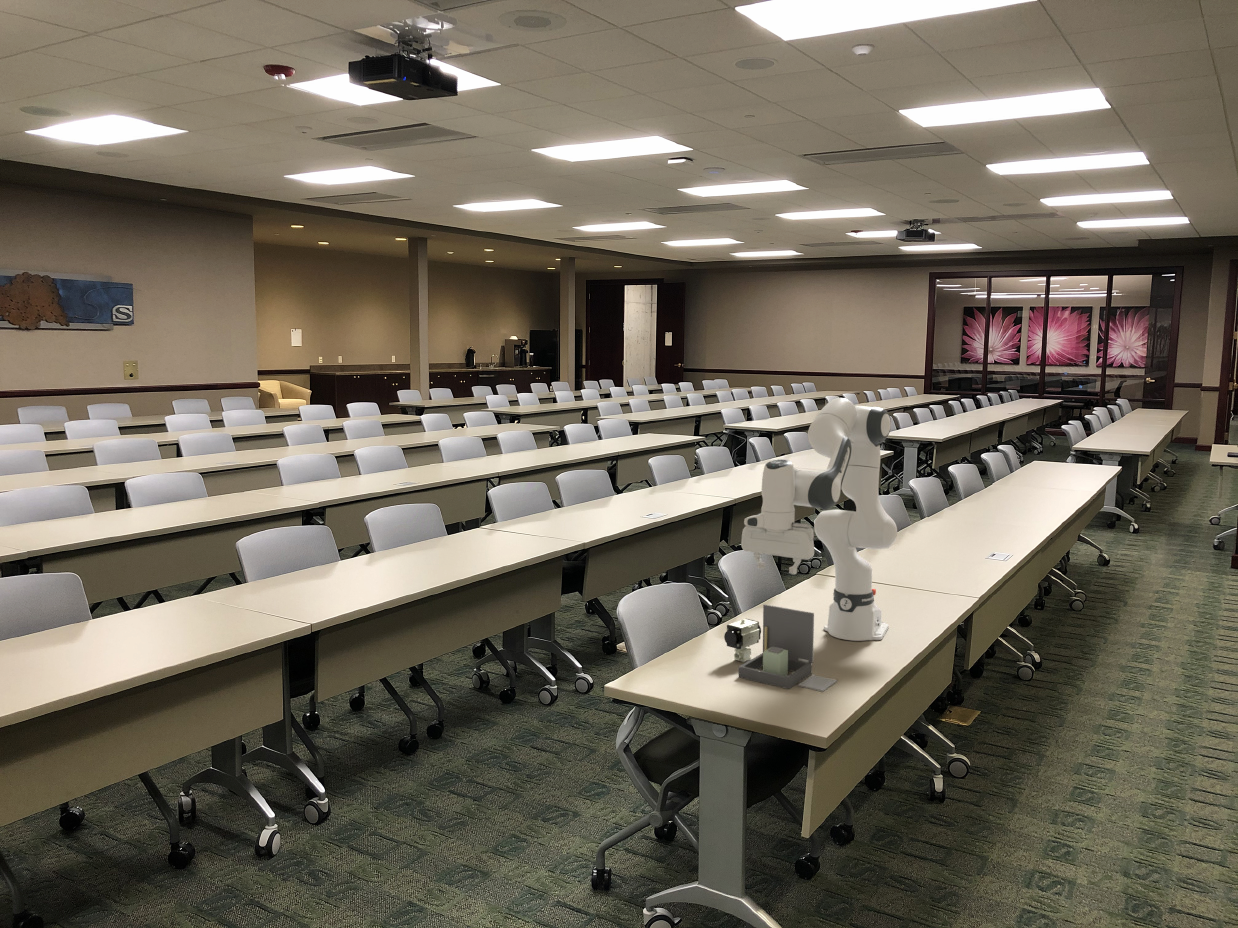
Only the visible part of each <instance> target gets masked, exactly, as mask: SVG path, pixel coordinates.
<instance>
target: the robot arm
mask: <svg viewBox="0 0 1238 928" xmlns="http://www.w3.org/2000/svg"><path fill="white" fill-rule="evenodd" d="M891 428H892V419H891V415H890V414H889V412H888V411H887V409H885V408H882V407H877V406H873V407H872V406H866V405H856V404H855V405H854V402H852V401H851V400H850V399H847V398H843V397H836V398H833V399H830V401H828V402H827V403H826V404H825V405H824V406H823V407H822V409H821V410H820V411H819V412H818V413H817V414H816V416H815V417H814V419H813V421H812V422H811V423H810V426H809V428H808V431H807V438H808V442H809V444H810V446H811V447H812V449H813V450H814V451H815V452H816V453H817V454H819V455H820V456H823V457H826V458H829V462H828V465H827V467H826V469H825V470H822V471H820V470H819V471H811V470H801V469H797V468H795V467H794V464H793V461H791V460H788V459H781V458H780V459H773V460H770V461H768V462H766V463H765V465H764V467H763V470H762V476H761V477H762V478H761V497H762V504H761V505H762V506H761V509H760V512H759V513H757V514H755V515H751V516H748V517H746V518H744V521H743V524H744V528H742V531H741V533H742V534H741V541H740V542H741V545H740V546H741V548H742V550H743V552H750V553H753V558H754V560H755V562H756V564H757V565H756V566H757V569H758V570H765V569H766V562H765V561H763V559H762V557H761V556H762V555H770V556H775V557H776V556H778V557H784V558H792V562H794V564H793V565H792V566H789V567H788V568H789V569H788V570H789V571H788V573H789V574H791V575H796V574H797V573H798V568H799V566H800V564H801V562H802V560H805V561H807V560H809V559H812V558H813V557H814V555H815V544H814V538H815V535H816V537H817V539H818V540H819V541H821V543H823V544H824V545H825V546H826V548H827V550H828V551H829V553H830V556H831V558H832V561H833V565H834V577H835V579H834V582H835V586H834V589H833V593H832V594H833V595H832V597H833V602H832V603H831V604H829V606H828V607H829V608H828V615H827V616H828V617H827V624H825V625H823V630H824V631H826V632H828V634H829V635H830V636H832V637H834V638H837V639H840V640H841V639H842V640H845V641H859V642H860V641H861V642H862V641H870V640H871V641H874V640H875V641H879V640H880V641H881V640H883V638H884V637H885V634H886V633H887V631H888V629H889V628H890V627H889V624H888V623H885V622H882V610H881V608H880V607H878V606H877V604H876V603H875V598H874V597H875V596H876V595H877V589H875V588H873V567H872V566H871V564H870V562H869V561H867V560H866V559H865V558H863V557H862V556H861V555H860V553H858V550H857V548H861V549H869V550H882V549H889V548H891V547H892V546H893V545H894V543H895V542H896V540H897V537H898V527H897V524H896V522H895V520H894V519H893V518H892V517H891V516H890V515H889V514H888V513H887V512H886V511H885V508H884V507H883V505H882V502H881V499H880V494H879V483H880V482H879V481H880V468H881V444H882V443H883V442H885V440H887V438H888V437H889V435H890V433H891ZM841 492H842V494H844V495H845V496H846V497H847V498H848V499H850V500H852V502H854V504H855V507H856V508H855V510H856V511H854V510H846V509H845V510H843V509H831V508H833V507H834V506H835V505H836V504H837V503H838V502H839V500H840V498H841ZM795 506H799V507H800V506H802V507H808V508H814V509H818V510H822V511H821V512H820V513H818V515H817V516H816V518H815V520H814V523H813V525H814V526H813V528H812V526H810V524H808V523H799V522H795V519H796V517H795V516H796V515H795V513H796V511H795V510H796V508H795Z"/></svg>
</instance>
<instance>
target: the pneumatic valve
mask: <svg viewBox="0 0 1238 928" xmlns="http://www.w3.org/2000/svg"><path fill="white" fill-rule="evenodd" d="M761 633H762V627H761V626H760V622H759V621H757V620H753V619H749V618H743V619H740V620H738V621H735V622H732V623H728V624H727V625H726V632H725V633H724V635H723V639H724V642H725V643H726V647H729V648H733V649H734V653H733V657H734V658H733V659H734V660H735V661H739V662H741V663H746V662H748V661H750V660H751V659H752V657H751V655H752V648H750V646H753V645H756V644H759V642H760V640H761Z"/></svg>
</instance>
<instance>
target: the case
mask: <svg viewBox="0 0 1238 928" xmlns="http://www.w3.org/2000/svg"><path fill="white" fill-rule="evenodd" d="M762 605H763V606H762V608H763V609H762V615H763V616H762V652H761V653H760V654H759V655H757V656H755V657H753V658H751V659H750V660H748V661H746V662H743V664H741V665H739V666H738V678H740V679H743V680H749V681H752V682H758V683H762V684H765V685H770V686H773V687H777V688H783V689H787V690H790V689H791V688H793V687H794V686H796V685H797V684H800V683H801V682H803V681H804V680H806V679H807V678H809V677H810V676H812V675H813V673H812V671H813V668H812V667H813V663H814V637H815V634H814V633H815V632H814V630H815V629H814V627H815V612H810V611H805V610H804V611H803V610H798V609H793V608H787V607H782V606H776V605H770V604H769V605H768V604H762ZM771 647H778V648H783V649H784V650H788V671H791V672H792V673H790V674H788V675H787V676H784V675H780V674H775V673H771V672H766V671H763V669H762V670H761V669H760V668H761V667H763V652H764V651H765V650H767V649H769V648H771Z"/></svg>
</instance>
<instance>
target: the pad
mask: <svg viewBox="0 0 1238 928" xmlns="http://www.w3.org/2000/svg"><path fill="white" fill-rule="evenodd" d="M837 682H838V680H837V679H834V678H828V677H825V676H821V675H820V676H819V675H816V674H811V675H809V676H808V677H806V678H805V679H803V680H802V681H800V682H799V683H797V684H798V687H801V688H805V689H808V690H813V691H819V692H822V693H823V692H825V691H826V690H827V689H829V688H830V687H832V686H834V684H836V683H837Z"/></svg>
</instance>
